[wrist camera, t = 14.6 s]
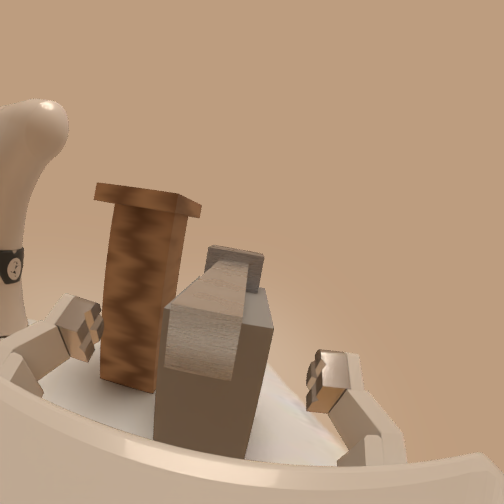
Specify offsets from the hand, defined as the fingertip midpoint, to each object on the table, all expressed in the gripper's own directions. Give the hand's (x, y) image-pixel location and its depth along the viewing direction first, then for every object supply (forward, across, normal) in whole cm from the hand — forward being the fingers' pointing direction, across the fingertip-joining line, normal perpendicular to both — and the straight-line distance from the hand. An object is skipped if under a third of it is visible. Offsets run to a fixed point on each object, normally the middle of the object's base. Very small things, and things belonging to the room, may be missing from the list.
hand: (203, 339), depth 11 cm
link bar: (+12, 0, -10) cm, 15 cm away
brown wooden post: (+16, -12, -32) cm, 38 cm away
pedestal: (+7, 0, -26) cm, 27 cm away
